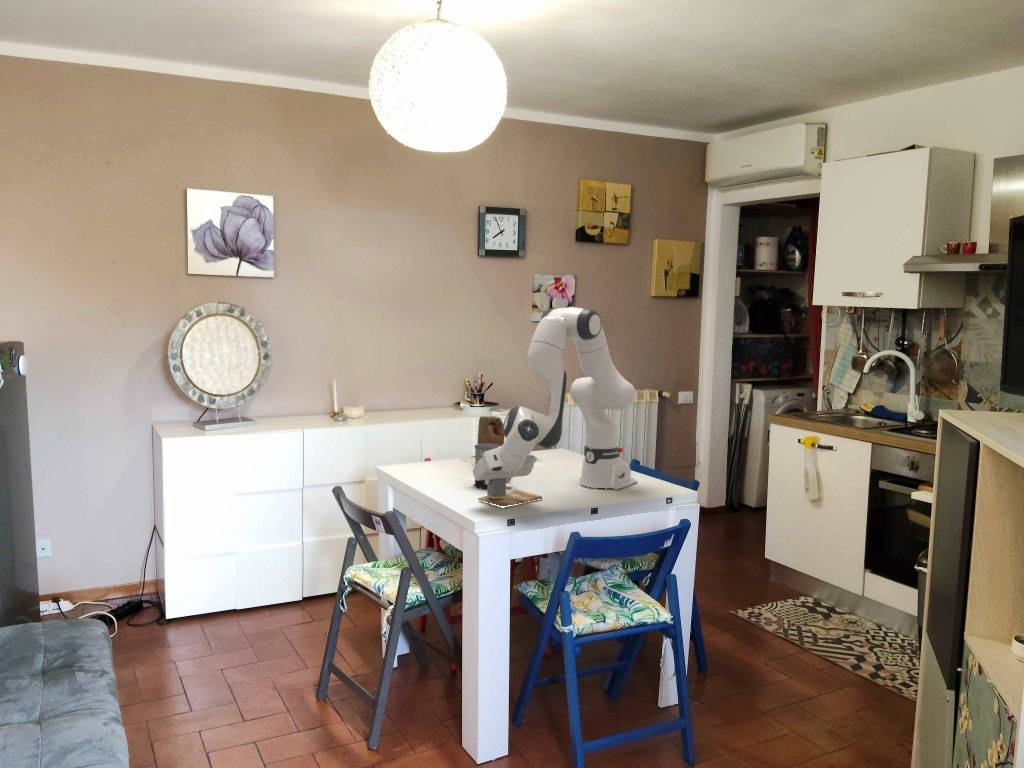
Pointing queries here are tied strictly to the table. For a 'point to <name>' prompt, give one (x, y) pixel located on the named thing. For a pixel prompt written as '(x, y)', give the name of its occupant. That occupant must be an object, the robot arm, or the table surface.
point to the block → (490, 430)
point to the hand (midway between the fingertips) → (495, 481)
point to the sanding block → (497, 488)
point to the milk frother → (479, 454)
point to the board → (512, 498)
